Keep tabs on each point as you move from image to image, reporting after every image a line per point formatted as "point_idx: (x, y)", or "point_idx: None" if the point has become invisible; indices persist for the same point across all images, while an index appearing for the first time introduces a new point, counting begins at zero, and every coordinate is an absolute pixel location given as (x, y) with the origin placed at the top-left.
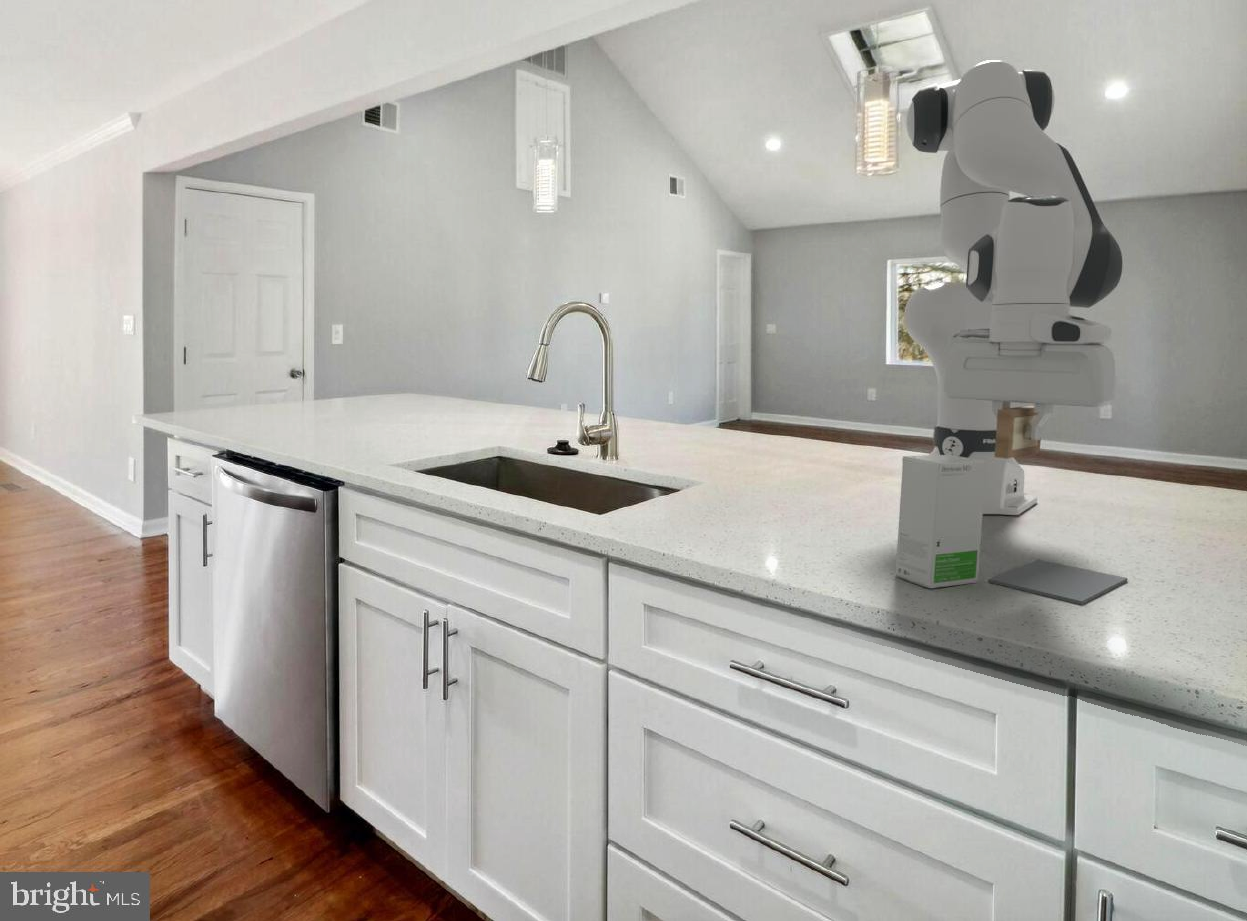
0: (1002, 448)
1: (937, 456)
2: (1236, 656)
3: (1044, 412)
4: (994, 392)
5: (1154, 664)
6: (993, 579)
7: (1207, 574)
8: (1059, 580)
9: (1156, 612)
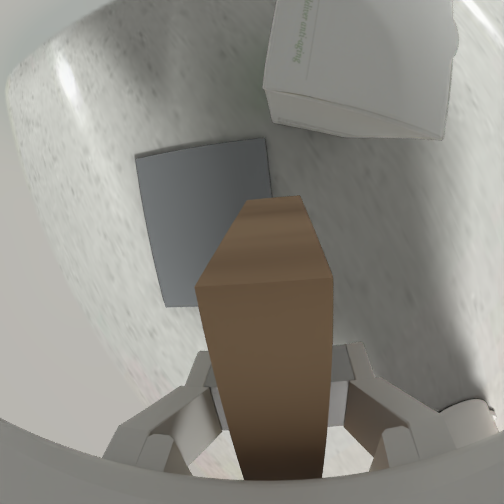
0: (266, 204)
1: (410, 18)
2: (18, 154)
3: (120, 431)
4: (467, 495)
5: (39, 72)
6: (257, 141)
7: (150, 387)
8: (201, 223)
9: (88, 211)
